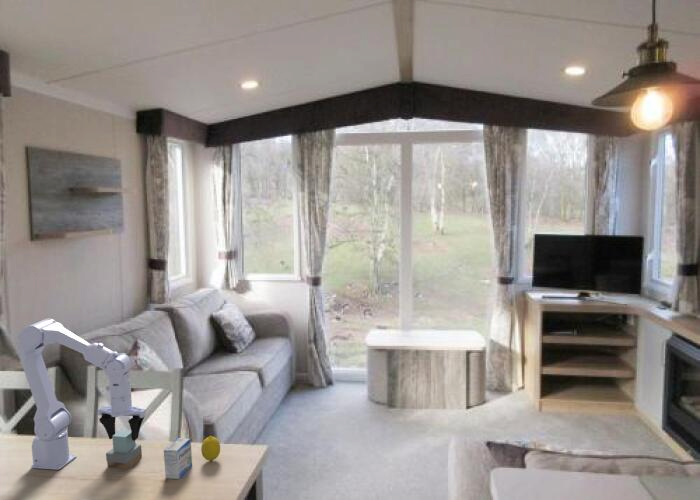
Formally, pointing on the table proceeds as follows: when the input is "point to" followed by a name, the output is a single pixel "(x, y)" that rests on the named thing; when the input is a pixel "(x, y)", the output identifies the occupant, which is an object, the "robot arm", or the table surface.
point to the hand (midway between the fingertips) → (123, 438)
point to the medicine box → (178, 458)
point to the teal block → (123, 441)
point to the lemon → (210, 448)
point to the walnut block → (124, 466)
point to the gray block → (123, 455)
